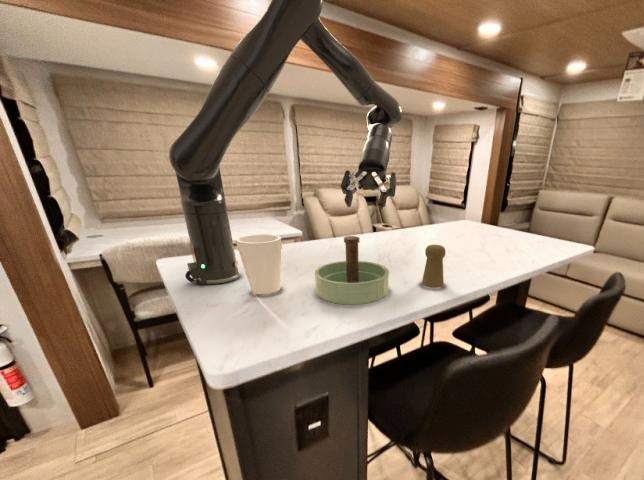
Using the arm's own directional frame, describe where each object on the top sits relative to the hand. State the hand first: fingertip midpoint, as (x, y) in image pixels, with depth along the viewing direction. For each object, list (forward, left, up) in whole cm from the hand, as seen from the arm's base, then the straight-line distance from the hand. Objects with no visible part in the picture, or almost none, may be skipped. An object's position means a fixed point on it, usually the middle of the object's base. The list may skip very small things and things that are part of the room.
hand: (364, 206), depth 79 cm
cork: (+12, -15, -20) cm, 28 cm away
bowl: (-8, -7, -19) cm, 22 cm away
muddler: (-8, -7, -19) cm, 22 cm away
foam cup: (-25, +5, -20) cm, 32 cm away
